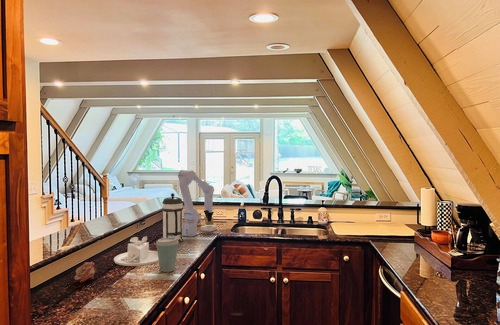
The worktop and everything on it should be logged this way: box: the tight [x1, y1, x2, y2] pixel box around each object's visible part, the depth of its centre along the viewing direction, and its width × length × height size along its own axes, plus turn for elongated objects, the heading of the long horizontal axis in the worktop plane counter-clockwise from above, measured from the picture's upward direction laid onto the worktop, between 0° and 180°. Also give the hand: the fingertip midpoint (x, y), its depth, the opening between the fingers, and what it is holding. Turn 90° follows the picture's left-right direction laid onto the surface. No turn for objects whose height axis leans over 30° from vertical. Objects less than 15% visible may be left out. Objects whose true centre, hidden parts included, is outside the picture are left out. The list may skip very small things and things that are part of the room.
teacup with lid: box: [197, 210, 206, 227], centre depth 285 cm, size 12×9×12 cm
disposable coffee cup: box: [155, 237, 180, 273], centre depth 177 cm, size 11×11×15 cm
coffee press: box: [161, 193, 184, 243], centre depth 232 cm, size 17×16×30 cm
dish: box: [113, 235, 159, 267], centre depth 196 cm, size 25×25×11 cm
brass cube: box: [204, 216, 214, 225], centre depth 266 cm, size 5×5×5 cm
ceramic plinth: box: [200, 224, 217, 232], centre depth 266 cm, size 8×8×3 cm
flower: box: [73, 261, 97, 283], centre depth 163 cm, size 10×9×8 cm
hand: (208, 220), depth 266 cm, fingers closed on brass cube, 5 cm apart
